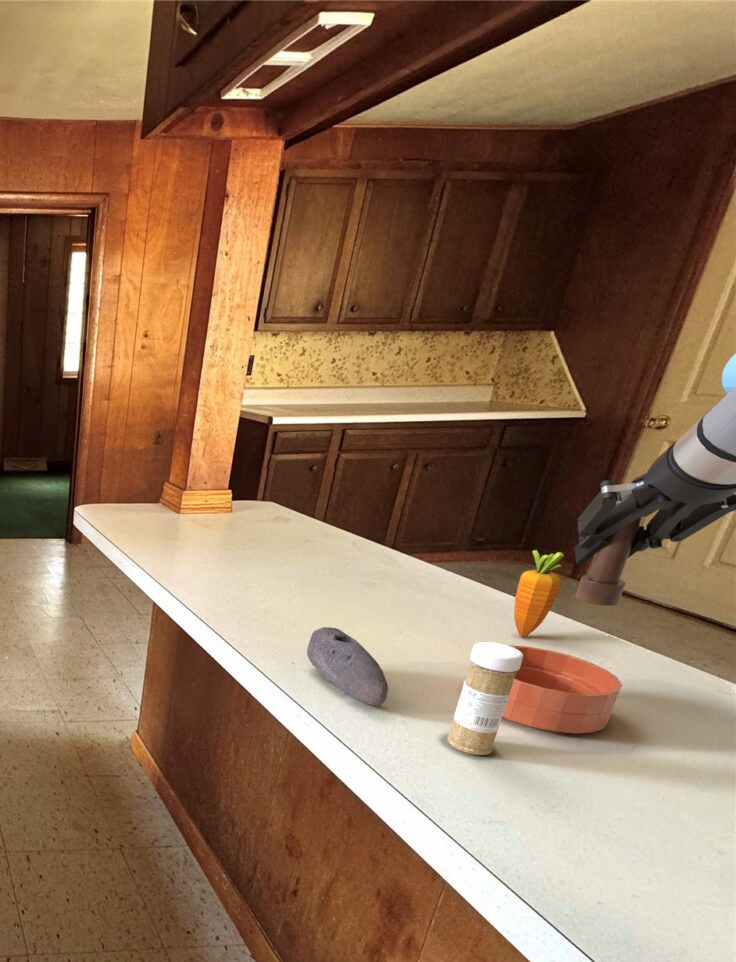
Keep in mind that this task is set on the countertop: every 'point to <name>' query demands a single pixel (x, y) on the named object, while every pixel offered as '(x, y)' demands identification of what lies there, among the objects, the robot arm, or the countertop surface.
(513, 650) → the sprinkles bottle
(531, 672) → the bowl
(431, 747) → the countertop surface
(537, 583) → the carrot
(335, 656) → the perforated stone tool
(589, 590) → the brown pestle
